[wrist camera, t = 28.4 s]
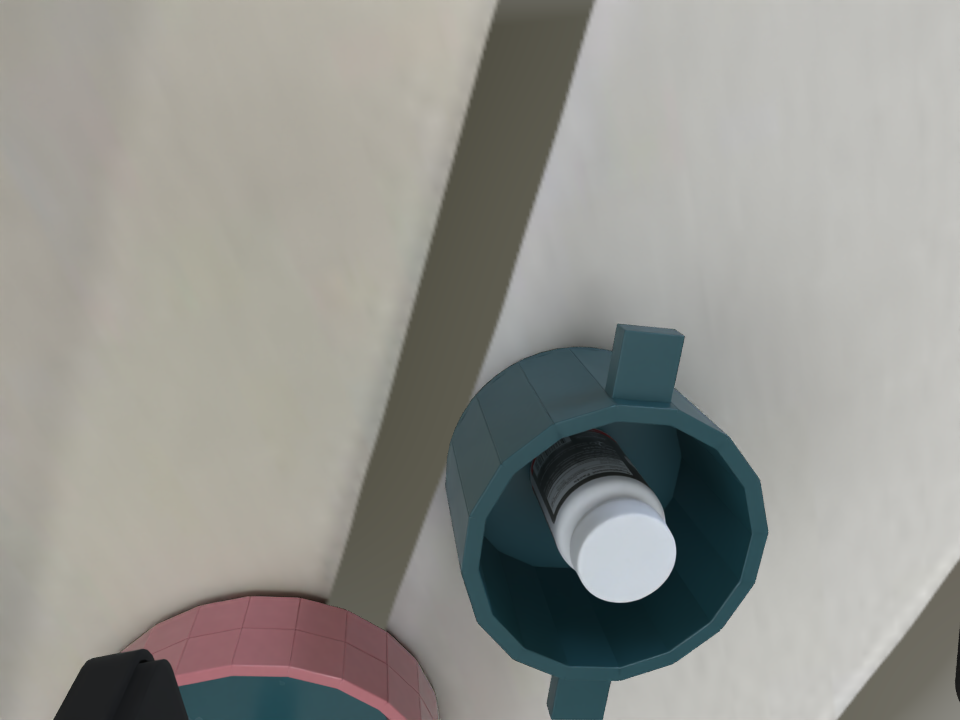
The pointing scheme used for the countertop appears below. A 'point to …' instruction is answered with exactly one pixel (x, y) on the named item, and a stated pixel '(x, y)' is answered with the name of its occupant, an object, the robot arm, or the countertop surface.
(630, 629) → the pot
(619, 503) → the pill bottle
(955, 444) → the countertop surface
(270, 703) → the lid
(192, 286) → the countertop surface
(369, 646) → the bowl
